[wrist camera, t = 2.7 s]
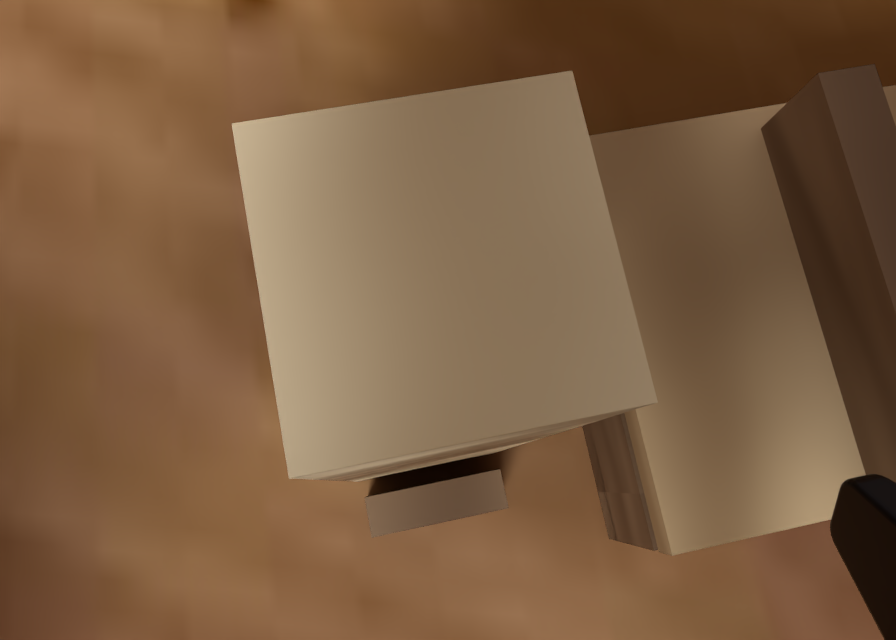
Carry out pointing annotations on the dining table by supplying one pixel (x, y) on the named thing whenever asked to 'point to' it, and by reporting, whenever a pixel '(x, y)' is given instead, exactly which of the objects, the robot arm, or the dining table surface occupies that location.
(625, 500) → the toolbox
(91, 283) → the dining table surface
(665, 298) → the lid
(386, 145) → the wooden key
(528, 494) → the dining table surface
